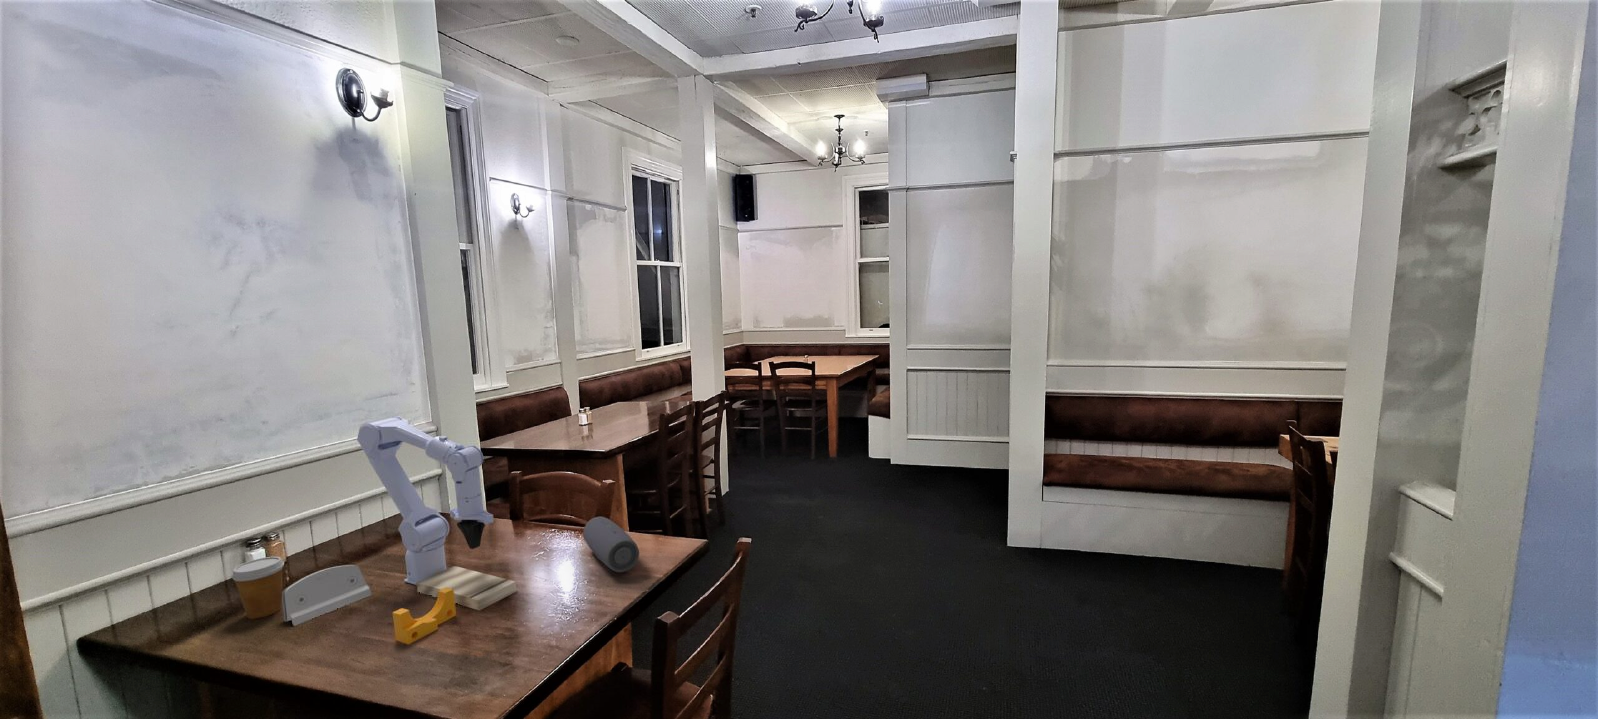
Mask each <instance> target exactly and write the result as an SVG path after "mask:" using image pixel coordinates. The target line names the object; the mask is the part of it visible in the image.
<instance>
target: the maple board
mask: <svg viewBox="0 0 1598 719" xmlns="http://www.w3.org/2000/svg"><path fill="white" fill-rule="evenodd" d="M446 569H447V570H444V571H442V572H440V573H437V574H435V575H433V576H430V577H428V578H426V579H423V580H421V581H419V582H417V585H416V589H417V590H416V591H417V593H419V592H420V594H423V595H426V594H427V596H429V595H432V596H431V597H432V598H436V597H438V591H439V590H441V589H444V588H446V587H447V588H451V589H453V591H454V599H455V604H456V603H458V604H457V605H459V604H460V606H463V607H467V608H469V609H473V610H476V611H481V610H483V609H485V608H487V607H489V606H491V605H493V604H495V603H497V602H499V601H500V600H502V599H505V598H506V597H508V596H510V595H512V594H515V593H516V592H517V582H516V580H511V579H509V578H503V577H499V576H495V575H492V574H487V573H485V572H480V571H476V570H472V569H468V568H464V567H461V566H460V567H459V566H455V565H453V566H451V567H449V568H446Z"/></svg>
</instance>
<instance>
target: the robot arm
mask: <svg viewBox="0 0 1598 719" xmlns="http://www.w3.org/2000/svg"><path fill="white" fill-rule="evenodd" d="M356 441H357V442H358V444H359V445H360V447H361V449H362V451H363V452H364V453H365V454H364V455H366V456H367V459H368V461H369V464H370V465H371V467H372V468H373V470H374V472H375V473H376V475H377V477H378V478H379V480H380V482H381V483H382V485H383V487H384V488H385V489H386V491H387V492H386V493H388V494H389V496H390V499H391V500H392V501H393V503H394V504H395V507H396V508H397V510H398V512H399V513H400V515H401V516H402V521H401V523H400V524H399V527H398V529H397V530H398V532H399V533H400V536H401V542H402V544H403V546H404V547H405V548H406V549H407V550H406V553H405V554H404V555H405V557H404V559H405V567H406V574H407V578H405V579H404V580H403V582H404V583H407V584H408V583H409V584H410V585H411V584H412V585H415V586H417V582H419V581H421V580H423V579H426V578H428V577H430V576H433V575H435V574H437V573H440V572H442V571H444V570H447V569H448V568H447V564H446V563H447V562H446V561H447V560H446V554H445V552H446V551H445V542H446V537H447V536H448V535H449V532H450V524H449V522H448V520H447V519H446V518H445V517H444V516H442V515H441V514H440V512H439V511H438V509H437V508H432V507H429V506H426V504H425V503H424V502H423V500H422V498H421V497H420V495H419V493H418V492H417V490H416V488H415V486H414V485H413V483H412V482H411V480H410V478H409V477H408V475H407V474H406V471H405V470H404V469H403V467H402V465H401V464H400V462H399V460H398V459H397V458H398V457H396V455H397V451H399V450H400V448H401V446H402V445H403V443H405V444H408V445H411V446H414V447H417V448H419V449H422V450H424V452H425V455H426V457H428V458H430V459H432V460H435V461H437V462H440V463H441V464H443V465H446V468H447V469H448V471H449V472H450V474H451V479H452V480H453V481H454V489H455V491H454V492H455V498H456V507H455V508H452V509H449V514H450V515H449V516H450V518H451V519H454V521H459V522H456V527H457V528H458V529H459V530H460V531H461V533H462V535H463V537H464V538H465V541H466V543H467V546H468V547H469V549H471V550H474V549H476V548H479V547H481V542H482V536H483V532H484V529H485V527H486V525H489V524H492V523H494V514H492V513H490V512H488V511H487V510H486V509H485V508H484V502H483V500H484V499H483V495H482V494H483V493H482V483H481V482H482V481H481V475H480V473H481V472H480V467H481V466H482V465H483V464H484V455H483V452H482V450H480V448H478V447H477V446H476V445H468V446H466V445H464V446H463V444H462V443H457V442H455V441H453V440H450V439H448V436H446V435H438V436H434V437H432V436H431V435H429V434H427V433H425V432H424V431H422V430H420V429H418V428H417V427H415V426H413V425H411V424H410V421H409V420H408V419H406V418H403V417H401V416H398V415H395V416H392V417H390V418H389V417H388V418H386V419H385V418H384V419H381V420H377V421H373V422H372V421H371V422H366V423H363V424H362V425H361V426H360V427H359V429H358V433H357V437H356Z"/></svg>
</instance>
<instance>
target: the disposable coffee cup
mask: <svg viewBox="0 0 1598 719" xmlns="http://www.w3.org/2000/svg"><path fill="white" fill-rule="evenodd" d="M284 565H285V561H283V560H282V558H281V557H280V556H267V557H260V558H256V559H252V560H249V561H246V562H243V563H242V564H239V565H237V566H235V567H234V568H233V570H232V574H231V576H230V577H231V578H232V579H233V581H234V582H235V585H236V589H237V592H238V595H239V597H240V599H241V602H242V606H243V609H244V611H245V614H246V617H247V618H248V619H249V620H250V619H252V620H254V619H261V618H264V617H265V618H266V617H269V616H270V615H273V614H276V613H277V612H278V611H280V610H281V609H282V608H283V600H282V593H283V568H284Z"/></svg>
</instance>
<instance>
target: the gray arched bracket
mask: <svg viewBox="0 0 1598 719" xmlns="http://www.w3.org/2000/svg"><path fill="white" fill-rule="evenodd" d="M372 595H373V594H372V590H371V588H370V587H369V585H368V583H367V582H366V579H365V578H364V575H363V573H362V571H361V569H360V567H359V566H358V565H355V564H345V565H337V566H333V567H332V566H331V567H328V568H324V569H322V570H318V571H316V572H313V573H311V574H309V575H306V576H304V577H301V578H300V579H299V580H297V581H295V582H293V583H292V584H290V585H289V586H288V587H285V589H284V590H282V608H283V616H284V618H283V619H284V622H285V623H287V622H289V621H292V622H291V623H292V625H293V626H295V627H296V626H298V625H301V624H303V623H306V622H307V621H310V620H313V619H316V618H318V617H321V616H323V615H325V613H326V614H328V613H330V612H334V611H335V610H337V608H338V609H341V608H344V607H345V605H346V606H348V605H350V603H351V604H353V603H357V602H358V601H360V600H363V599H365V598H369V597H371V596H372ZM320 615H321V616H320ZM315 617H316V618H315ZM312 618H313V619H312Z"/></svg>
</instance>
